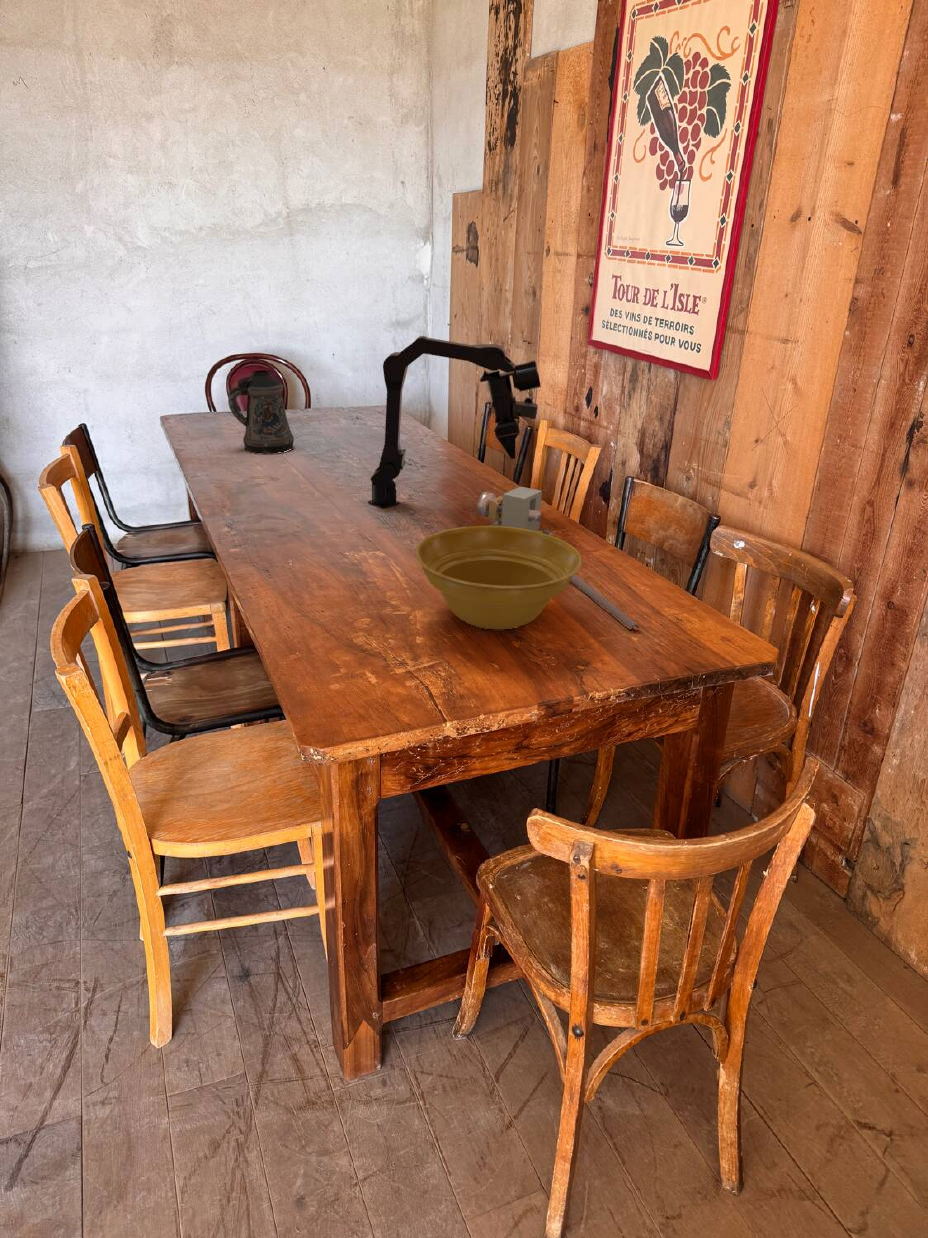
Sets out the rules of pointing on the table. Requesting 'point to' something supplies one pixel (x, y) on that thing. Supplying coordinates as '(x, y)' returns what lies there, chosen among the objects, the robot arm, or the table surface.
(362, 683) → the table surface
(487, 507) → the shaft
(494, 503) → the spacer collar
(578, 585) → the metal rod
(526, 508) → the bearing block
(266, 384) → the beer stein
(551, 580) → the planter bowl
